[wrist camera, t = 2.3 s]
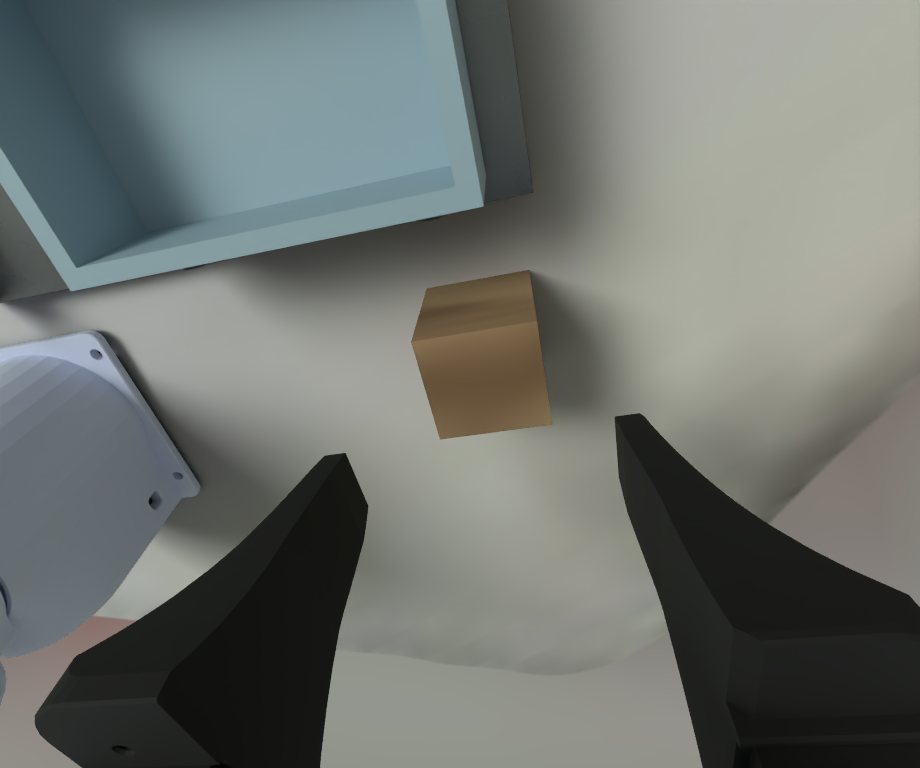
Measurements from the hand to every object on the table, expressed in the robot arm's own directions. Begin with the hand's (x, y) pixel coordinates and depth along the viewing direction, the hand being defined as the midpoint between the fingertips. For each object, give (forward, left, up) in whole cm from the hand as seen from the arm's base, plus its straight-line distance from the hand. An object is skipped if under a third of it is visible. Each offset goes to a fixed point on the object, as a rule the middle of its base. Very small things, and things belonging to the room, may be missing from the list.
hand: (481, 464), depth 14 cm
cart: (+10, +5, -7) cm, 13 cm away
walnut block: (0, 0, -8) cm, 9 cm away
